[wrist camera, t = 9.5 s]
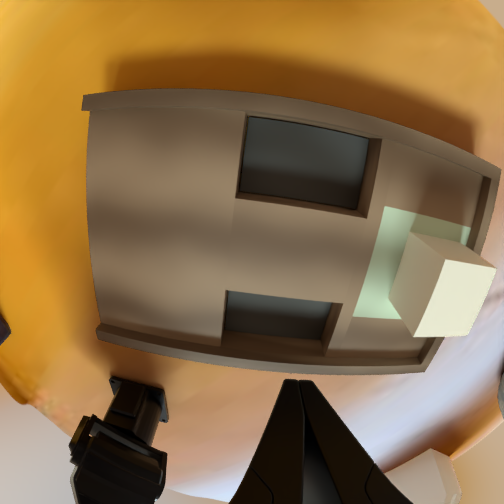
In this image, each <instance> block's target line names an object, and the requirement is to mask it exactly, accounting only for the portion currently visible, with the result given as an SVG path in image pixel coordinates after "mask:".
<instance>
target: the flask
mask: <svg viewBox="0 0 504 504" xmlns="http://www.w3.org/2000/svg"><path fill="white" fill-rule="evenodd" d="M10 334H11V329H10V327H9V326H8V324H7V323H6V321H5V320H4V319H3V318H2V317H1V316H0V345H1V344H2V343H3V342H4V341H5V340H6V339H7V337H8V336H9V335H10Z"/></svg>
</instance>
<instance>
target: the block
mask: <svg viewBox="0 0 504 504" xmlns="http://www.w3.org/2000/svg"><path fill="white" fill-rule="evenodd" d="M496 270H497V268H496V267H494V266H493V265H492V264H490V263H489V262H488V261H486V260H485V259H483V258H482V257H481V256H479V255H478V254H476V253H475V252H474V251H472V250H471V249H469V248H468V247H466V246H465V245H463V244H462V243H460V242H456V241H451V240H447V239H442V238H438V237H433V236H428V235H424V234H419V233H414V232H409V235H408V238H407V242H406V245H405V249H404V252H403V255H402V259H401V262H400V265H399V268H398V271H397V274H396V277H395V280H394V283H393V286H392V288H391V291H390V294H389V297H388V299H389V301H390V302H391V304H392V305H393V307H394V308H395V310H396V311H397V313H398V314H399V316H400V317H401V319H402V320H403V322H404V323H405V325H406V326H407V328H408V330H409V331H410V333H411V334H412V336H413V337H448V336H467V334H468V333H469V331H470V329H471V327H472V325H473V323H474V321H475V319H476V317H477V315H478V313H479V311H480V308H481V306H482V304H483V302H484V300H485V297H486V295H487V293H488V290H489V288H490V286H491V283H492V281H493V278H494V276H495V273H496Z"/></svg>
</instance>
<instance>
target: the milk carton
mask: <svg viewBox="0 0 504 504" xmlns="http://www.w3.org/2000/svg"><path fill="white" fill-rule="evenodd" d="M384 474H385V475H386V477H387V478H388V479H389V480H390V481H391V482H392V484H393V485H394V486H395V487H396V488H397V489H398V490H399V491H400V492H401V493H402V494H403V495H405V496H406V497H407V498H408V499H409V500H410V501H411V502H412V503H413V504H459V502H460V499H461V496H462V491H461V488H460V485H459V482H458V480H457V477H456V474H455V471H454V468H453V466H452V463H451V460H450V458H449V456H447V455H444V454H442V453H440V452H438V451H436V450H434V449H432V448H430V449H428V450H427V451H425V452H423V453H422V454H420V455H418V456H417V457H415V458H413V459H411V460H409V461H408V462H406V463H404V464H402V465H400V466H398V467H396V468H394V469H392V470H390V471H388V472H386V473H384Z"/></svg>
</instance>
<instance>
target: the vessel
mask: <svg viewBox="0 0 504 504" xmlns="http://www.w3.org/2000/svg"><path fill="white" fill-rule="evenodd" d="M498 402H499V407H500V410H501V413H502V415H503V418H504V373H503V375H502V378H501V382H500V385H499V389H498Z"/></svg>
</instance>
